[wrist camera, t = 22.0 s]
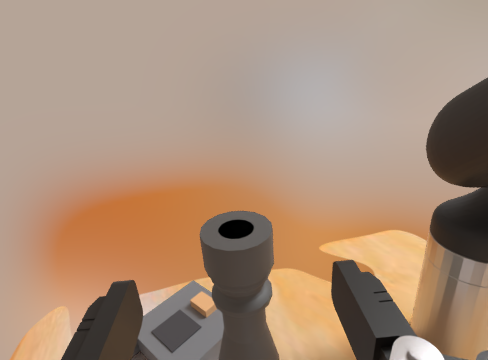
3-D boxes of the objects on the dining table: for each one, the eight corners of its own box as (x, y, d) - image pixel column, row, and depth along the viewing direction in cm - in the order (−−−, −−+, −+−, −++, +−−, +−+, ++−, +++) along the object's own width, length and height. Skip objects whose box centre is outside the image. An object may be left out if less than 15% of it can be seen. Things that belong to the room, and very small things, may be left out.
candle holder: (215, 433, 33) (179, 238, 23) (245, 383, 38) (227, 203, 28) (265, 471, 30) (248, 263, 20) (292, 411, 34) (289, 219, 24)
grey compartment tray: (195, 293, 53) (192, 274, 52) (246, 329, 46) (245, 309, 44) (62, 395, 39) (51, 373, 37) (105, 473, 31) (94, 450, 30)
